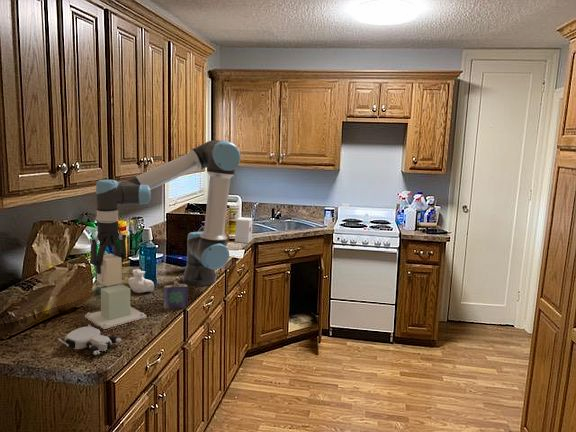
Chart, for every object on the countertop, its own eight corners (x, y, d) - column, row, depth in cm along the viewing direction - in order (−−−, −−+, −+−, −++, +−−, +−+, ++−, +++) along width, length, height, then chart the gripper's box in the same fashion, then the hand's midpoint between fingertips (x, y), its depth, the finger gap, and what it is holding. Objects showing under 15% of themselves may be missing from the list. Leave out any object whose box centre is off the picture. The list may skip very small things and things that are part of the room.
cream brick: (111, 277, 182) (111, 253, 180) (122, 282, 176) (121, 257, 175) (97, 281, 177) (96, 256, 175) (107, 286, 172) (106, 260, 170)
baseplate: (126, 307, 175) (126, 302, 175) (146, 318, 166) (146, 313, 166) (84, 318, 163) (84, 313, 163) (104, 330, 154) (104, 325, 154)
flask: (163, 309, 175) (163, 282, 173) (163, 307, 178) (163, 280, 176) (188, 308, 178) (188, 281, 176) (187, 305, 181) (187, 279, 179)
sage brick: (121, 309, 169) (121, 284, 168) (130, 314, 165) (130, 288, 164) (101, 315, 163) (100, 288, 162) (109, 320, 159) (109, 293, 158)
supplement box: (248, 243, 288) (249, 220, 285) (234, 242, 289) (235, 219, 287) (252, 240, 297) (253, 217, 294) (238, 239, 298) (239, 216, 296)
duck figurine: (127, 294, 194) (117, 279, 186) (135, 280, 199) (126, 264, 191) (152, 298, 191) (143, 283, 183) (160, 284, 196) (151, 268, 188)
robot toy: (123, 347, 145) (86, 334, 150) (124, 334, 145) (87, 321, 149) (95, 364, 134) (56, 350, 139) (96, 350, 133) (56, 336, 138)
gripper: (125, 216, 182) (127, 272, 186) (77, 222, 168) (80, 282, 172) (135, 219, 177) (136, 276, 181) (87, 225, 163) (89, 287, 167)
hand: (109, 279), depth 177 cm, fingers closed on cream brick, 6 cm apart
